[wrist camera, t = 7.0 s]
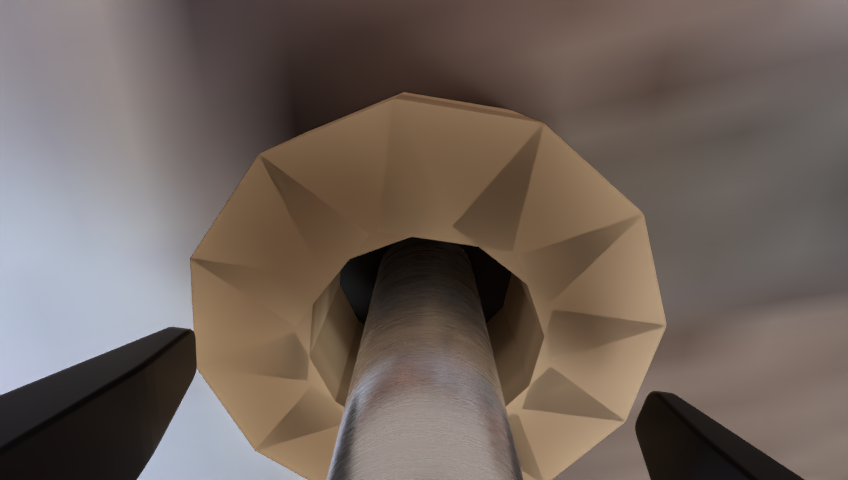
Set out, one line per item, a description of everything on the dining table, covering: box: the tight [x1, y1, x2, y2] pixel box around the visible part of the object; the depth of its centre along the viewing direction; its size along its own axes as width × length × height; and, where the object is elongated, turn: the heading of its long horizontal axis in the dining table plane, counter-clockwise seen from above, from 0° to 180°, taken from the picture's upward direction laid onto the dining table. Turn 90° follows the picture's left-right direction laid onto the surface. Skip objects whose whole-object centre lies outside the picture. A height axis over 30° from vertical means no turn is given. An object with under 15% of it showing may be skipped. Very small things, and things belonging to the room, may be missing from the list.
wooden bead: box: [190, 92, 667, 480], centre depth 11 cm, size 10×10×4 cm
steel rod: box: [327, 237, 523, 480], centre depth 8 cm, size 3×3×9 cm
